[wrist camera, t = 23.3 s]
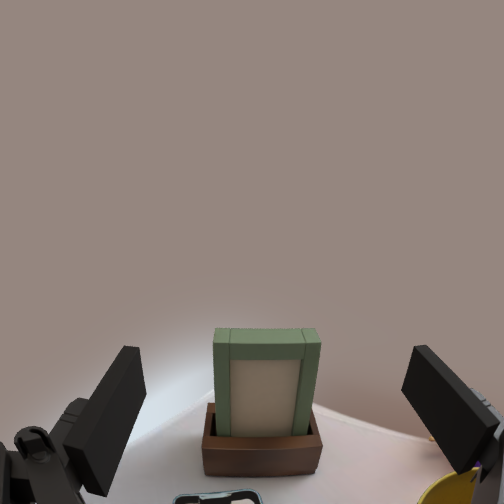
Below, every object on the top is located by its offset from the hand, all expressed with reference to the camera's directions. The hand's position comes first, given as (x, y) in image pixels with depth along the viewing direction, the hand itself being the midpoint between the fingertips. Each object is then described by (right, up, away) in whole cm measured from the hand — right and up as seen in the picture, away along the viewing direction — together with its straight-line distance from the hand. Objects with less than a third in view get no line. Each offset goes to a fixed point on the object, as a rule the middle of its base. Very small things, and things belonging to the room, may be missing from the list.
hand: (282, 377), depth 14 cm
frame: (-1, -13, +13) cm, 18 cm away
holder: (-1, -14, +13) cm, 19 cm away
